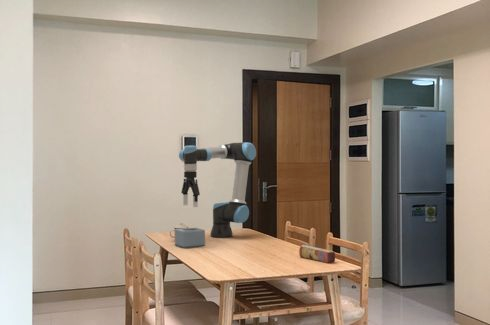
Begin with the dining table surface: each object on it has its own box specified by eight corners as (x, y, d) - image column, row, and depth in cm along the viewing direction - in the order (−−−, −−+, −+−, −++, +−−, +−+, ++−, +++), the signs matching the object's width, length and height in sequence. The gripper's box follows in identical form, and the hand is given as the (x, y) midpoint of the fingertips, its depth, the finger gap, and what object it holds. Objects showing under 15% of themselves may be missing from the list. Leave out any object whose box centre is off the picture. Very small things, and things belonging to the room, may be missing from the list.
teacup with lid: (187, 239, 334) (187, 222, 334) (189, 242, 325) (189, 223, 325) (168, 240, 331) (169, 222, 331) (170, 242, 322) (170, 224, 322)
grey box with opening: (195, 243, 319) (195, 227, 319) (204, 246, 309) (204, 229, 309) (175, 245, 312) (175, 229, 312) (183, 248, 302) (183, 231, 301)
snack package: (336, 262, 264) (336, 249, 264) (327, 264, 260) (327, 250, 260) (306, 256, 281) (307, 244, 281) (298, 257, 277) (298, 245, 277)
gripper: (176, 170, 319) (176, 204, 319) (193, 171, 298) (193, 208, 298) (187, 170, 323) (187, 204, 323) (205, 171, 302) (205, 207, 302)
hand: (190, 206), depth 310 cm, fingers open, 13 cm apart
